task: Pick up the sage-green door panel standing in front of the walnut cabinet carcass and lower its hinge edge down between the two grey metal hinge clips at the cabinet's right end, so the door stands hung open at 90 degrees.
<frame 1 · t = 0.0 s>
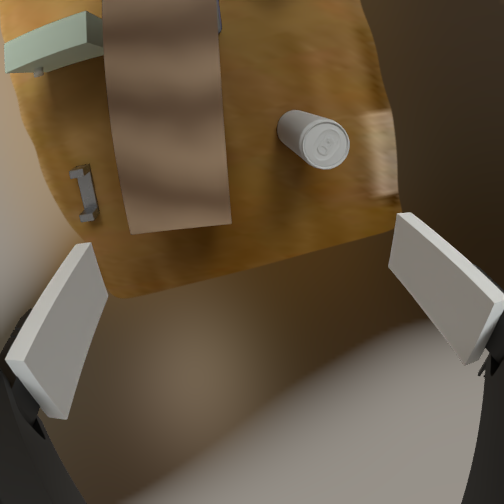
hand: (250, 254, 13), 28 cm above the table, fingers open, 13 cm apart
hinge clips: (114, 185, 38), on the table
door: (79, 49, 29), on the table
cabinet: (181, 96, 34), on the table
beverage can: (294, 128, 37), on the table
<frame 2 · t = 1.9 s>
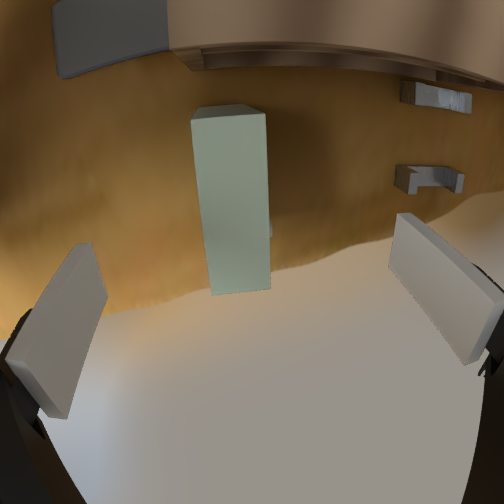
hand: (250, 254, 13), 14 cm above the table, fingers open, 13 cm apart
hinge clips: (427, 136, 25), on the table
smartphone: (141, 14, 18), on the table
door: (225, 166, 25), on the table
cabinet: (330, 17, 19), on the table
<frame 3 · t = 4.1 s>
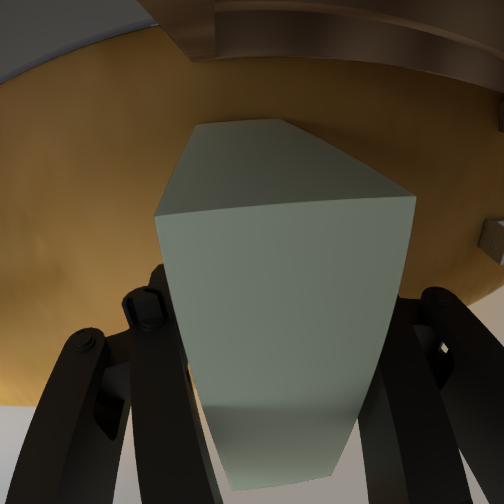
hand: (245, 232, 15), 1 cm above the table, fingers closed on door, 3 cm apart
door: (244, 228, 15), on the table, touching gripper
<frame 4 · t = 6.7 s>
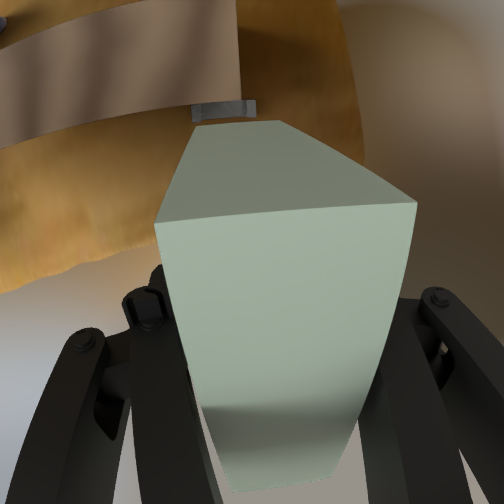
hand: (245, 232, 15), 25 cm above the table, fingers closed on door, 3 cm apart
hinge clips: (225, 142, 36), on the table
door: (244, 229, 15), point 24 cm above the table, touching gripper
cabinet: (133, 72, 30), on the table
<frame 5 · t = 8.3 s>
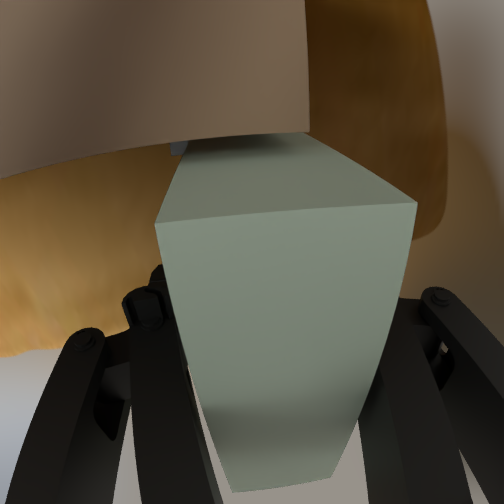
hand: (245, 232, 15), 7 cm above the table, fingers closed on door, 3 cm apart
door: (244, 229, 15), point 7 cm above the table, touching gripper
cabinet: (71, 64, 15), on the table
when the fingers open (2 cm above the table, at t = 9.7 s): door stays where it is, resting on hinge clips.
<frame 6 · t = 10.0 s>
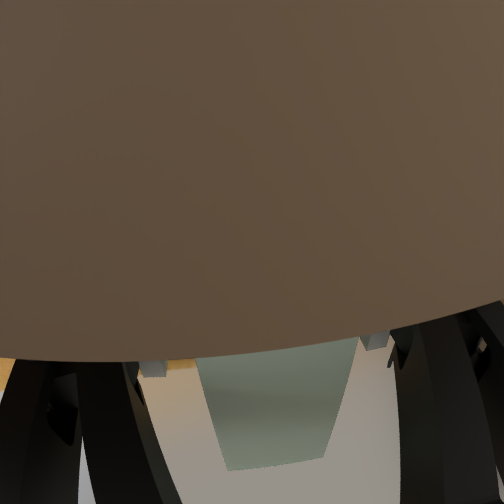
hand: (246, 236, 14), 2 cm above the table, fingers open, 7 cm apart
door: (241, 221, 16), resting on hinge clips
cabinet: (30, 61, 10), on the table
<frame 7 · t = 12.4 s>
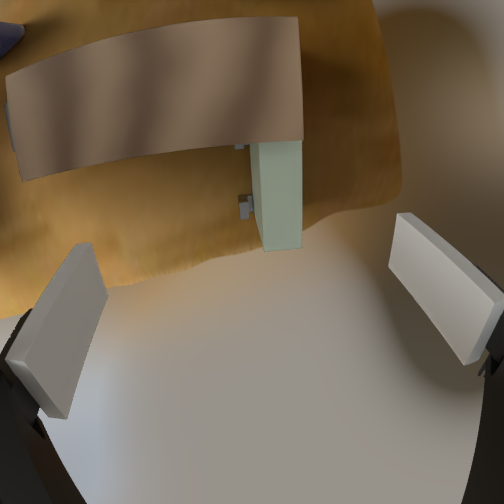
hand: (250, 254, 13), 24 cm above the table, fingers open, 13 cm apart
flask: (1, 49, 24), on the table
hinge clips: (266, 168, 36), on the table
door: (266, 169, 35), resting on hinge clips
cabinet: (169, 91, 30), on the table
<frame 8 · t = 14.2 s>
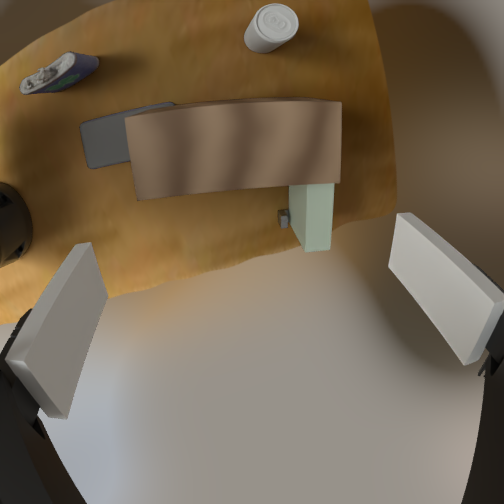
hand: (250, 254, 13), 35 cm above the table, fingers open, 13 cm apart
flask: (73, 75, 35), on the table
smartphone: (129, 135, 42), on the table
door: (299, 191, 48), resting on hinge clips
cabinet: (230, 130, 43), on the table
beverage can: (260, 38, 37), on the table
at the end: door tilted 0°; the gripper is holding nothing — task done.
